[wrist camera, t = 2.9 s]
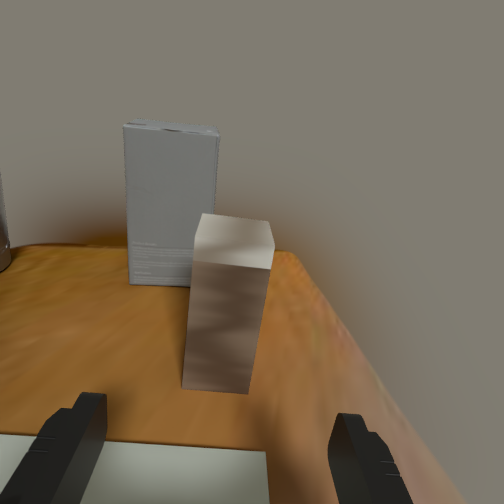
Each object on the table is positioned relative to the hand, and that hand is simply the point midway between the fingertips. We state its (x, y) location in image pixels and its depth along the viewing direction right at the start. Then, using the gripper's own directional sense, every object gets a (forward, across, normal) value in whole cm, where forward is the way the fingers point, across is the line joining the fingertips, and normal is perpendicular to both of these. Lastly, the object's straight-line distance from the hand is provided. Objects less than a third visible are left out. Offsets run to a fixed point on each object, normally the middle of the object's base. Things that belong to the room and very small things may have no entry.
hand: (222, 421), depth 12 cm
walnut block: (+12, 0, +8) cm, 14 cm away
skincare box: (+26, +6, +8) cm, 27 cm away
